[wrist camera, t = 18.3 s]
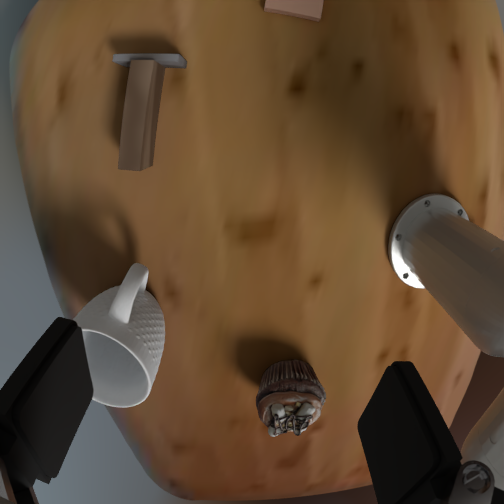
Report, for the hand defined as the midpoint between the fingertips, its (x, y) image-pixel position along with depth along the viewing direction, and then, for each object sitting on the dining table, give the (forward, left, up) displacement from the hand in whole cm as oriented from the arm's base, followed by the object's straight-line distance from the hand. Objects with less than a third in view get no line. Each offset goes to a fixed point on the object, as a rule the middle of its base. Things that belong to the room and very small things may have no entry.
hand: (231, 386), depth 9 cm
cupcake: (-10, +26, -29) cm, 40 cm away
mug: (+12, +16, -28) cm, 35 cm away
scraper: (+12, -8, -28) cm, 32 cm away
